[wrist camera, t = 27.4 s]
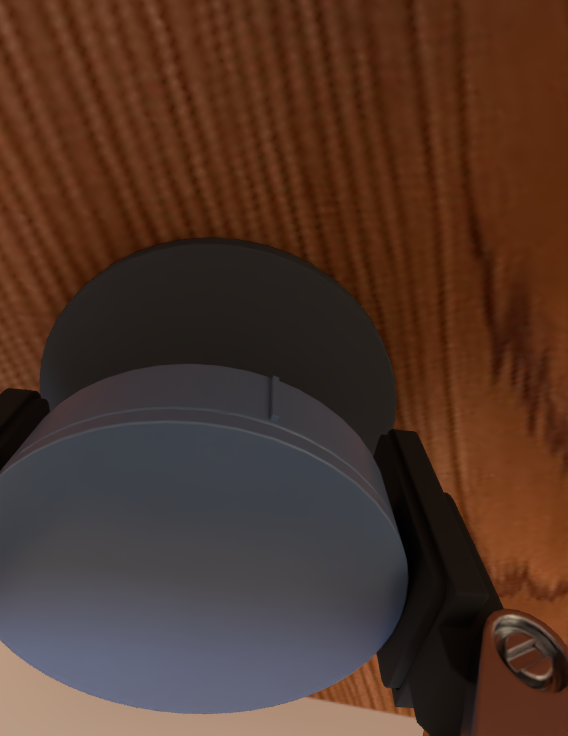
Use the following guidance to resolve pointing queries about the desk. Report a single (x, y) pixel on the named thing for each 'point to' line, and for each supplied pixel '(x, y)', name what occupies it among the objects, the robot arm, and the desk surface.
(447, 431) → the desk surface
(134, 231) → the desk surface
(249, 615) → the jar lid
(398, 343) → the desk surface
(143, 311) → the coaster
